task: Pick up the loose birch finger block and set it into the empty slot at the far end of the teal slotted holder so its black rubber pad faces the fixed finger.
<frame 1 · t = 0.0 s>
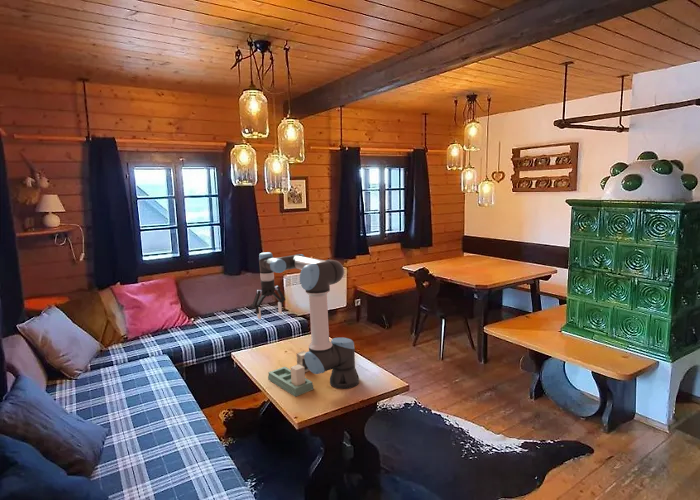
hand: (270, 315, 250), 28 cm above the table, fingers open, 13 cm apart
teal slotted holder: (290, 384, 225), on the table
mug: (321, 358, 257), on the table
finger block: (303, 370, 241), on the table
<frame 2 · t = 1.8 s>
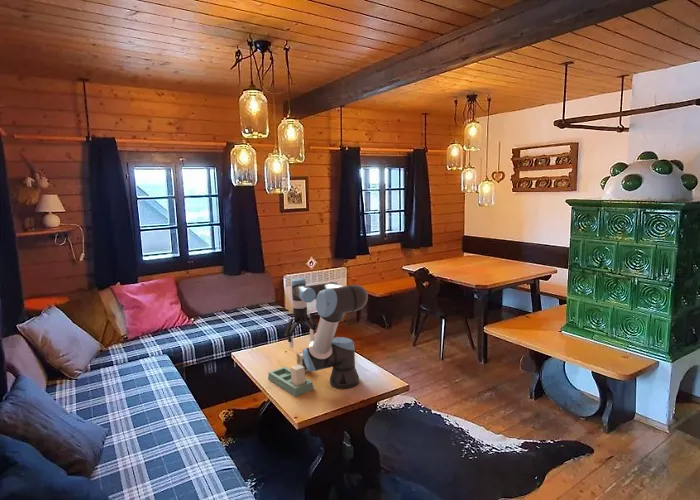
hand: (302, 344, 239), 15 cm above the table, fingers open, 13 cm apart
nothing on the table moved.
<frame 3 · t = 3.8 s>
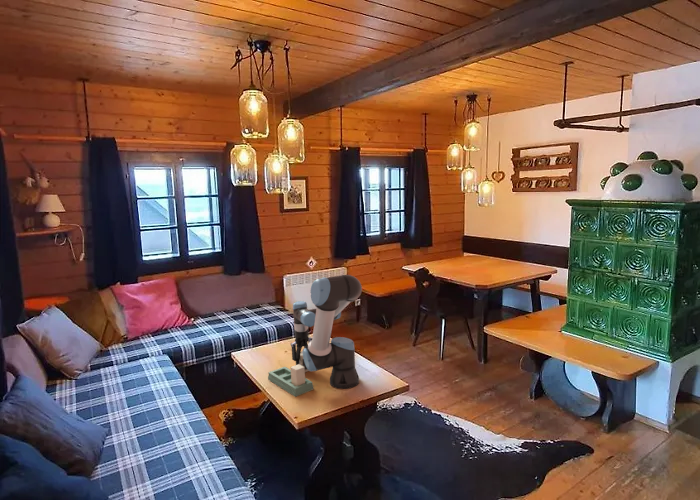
hand: (303, 369, 241), 0 cm above the table, fingers closed on finger block, 5 cm apart
finger block: (303, 370, 241), on the table, touching gripper
everything else where it was.
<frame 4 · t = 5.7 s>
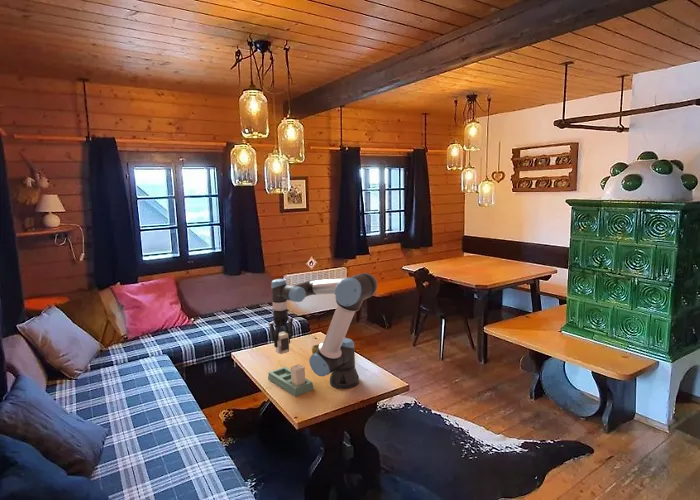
hand: (282, 351, 231), 15 cm above the table, fingers closed on finger block, 5 cm apart
finger block: (282, 351, 231), point 15 cm above the table, touching gripper
everything else where it was.
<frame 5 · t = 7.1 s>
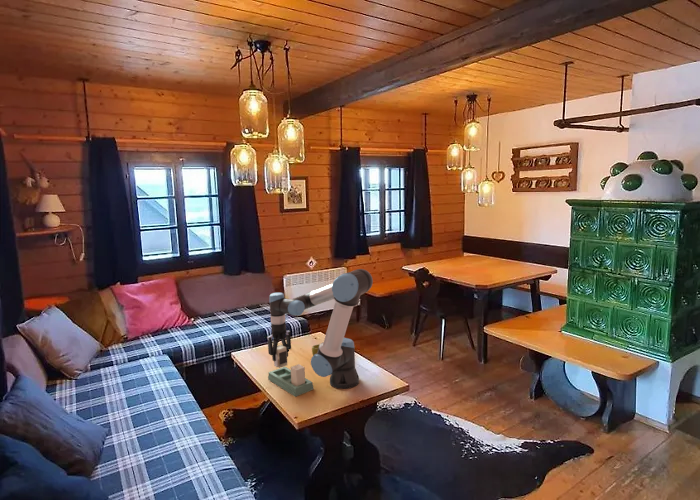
hand: (280, 364, 230), 8 cm above the table, fingers closed on finger block, 5 cm apart
finger block: (280, 365, 230), point 8 cm above the table, touching gripper
everything else where it was.
when the fingers open (4 cm above the table, at t = 8.1 s): finger block drops 2 cm, resting on teal slotted holder.
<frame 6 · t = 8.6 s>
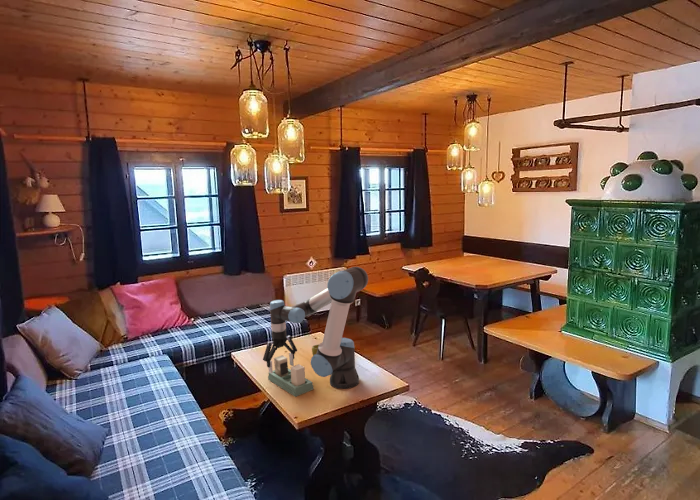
hand: (281, 368, 230), 6 cm above the table, fingers open, 12 cm apart
finger block: (281, 375, 231), point 2 cm above the table, touching teal slotted holder
everything else where it was.
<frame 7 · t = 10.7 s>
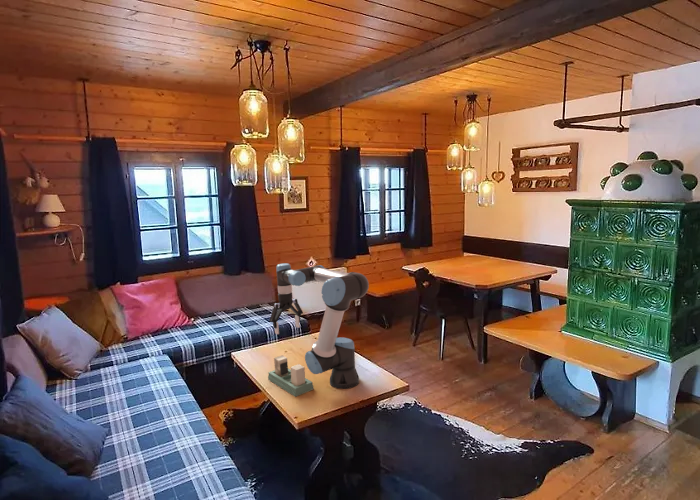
hand: (287, 330, 237), 24 cm above the table, fingers open, 13 cm apart
nothing on the table moved.
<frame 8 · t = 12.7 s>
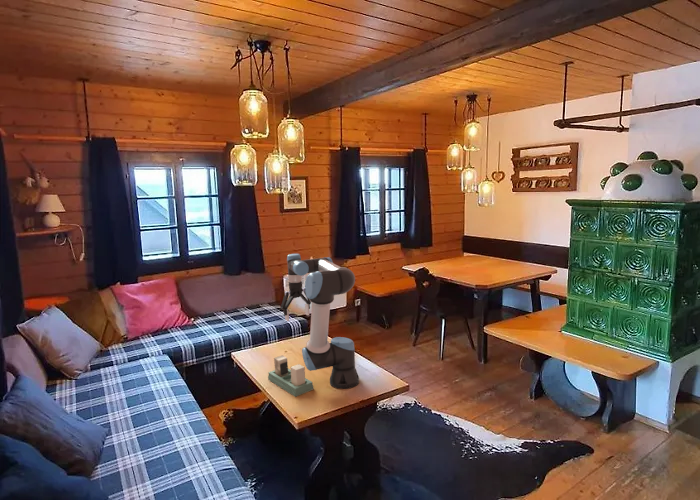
hand: (297, 317, 249), 27 cm above the table, fingers open, 13 cm apart
nothing on the table moved.
at the end: finger block 0.1 cm from the target spot on the teal slotted holder, point 2.0 cm above the teal slotted holder's base; finger block tilted 0°; the gripper is holding nothing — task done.
